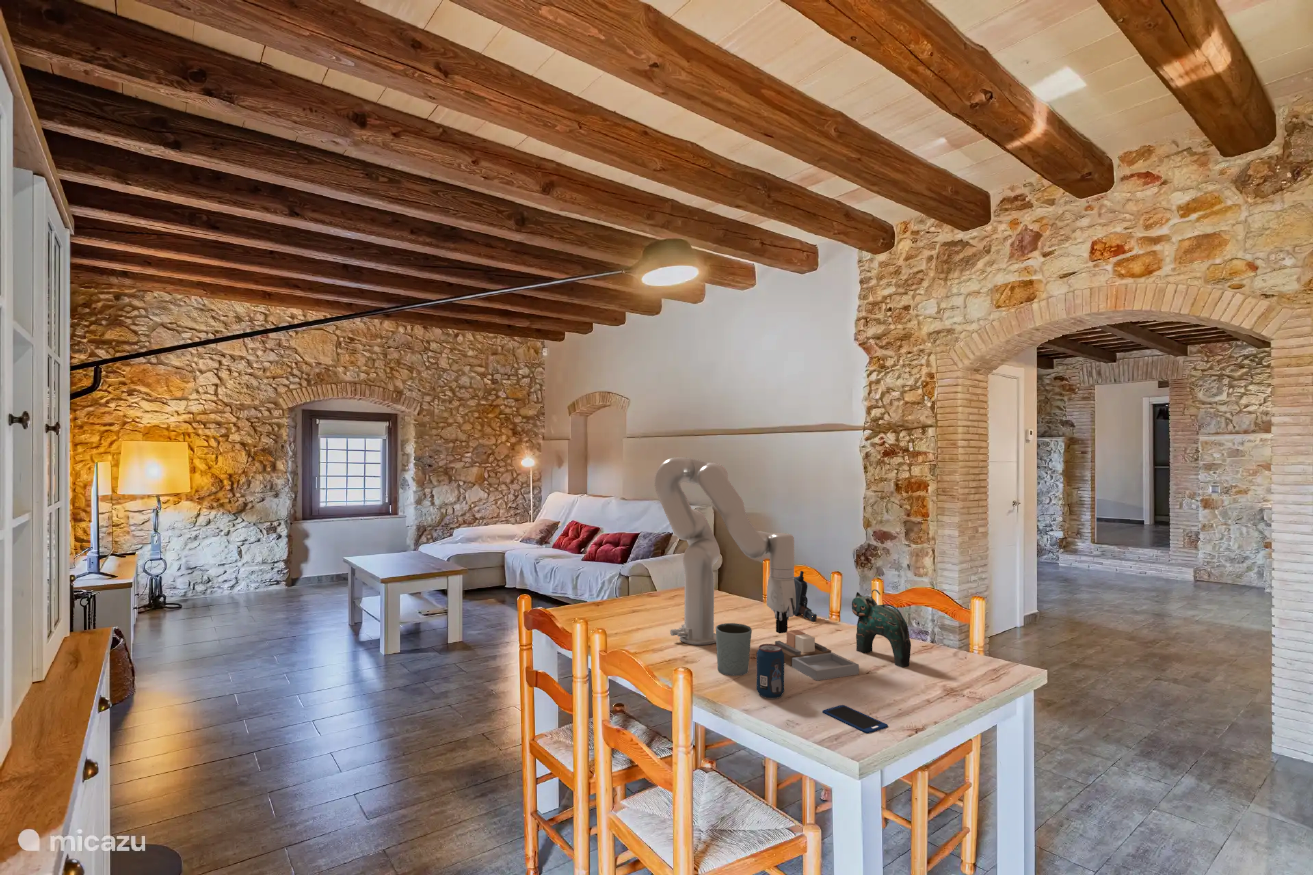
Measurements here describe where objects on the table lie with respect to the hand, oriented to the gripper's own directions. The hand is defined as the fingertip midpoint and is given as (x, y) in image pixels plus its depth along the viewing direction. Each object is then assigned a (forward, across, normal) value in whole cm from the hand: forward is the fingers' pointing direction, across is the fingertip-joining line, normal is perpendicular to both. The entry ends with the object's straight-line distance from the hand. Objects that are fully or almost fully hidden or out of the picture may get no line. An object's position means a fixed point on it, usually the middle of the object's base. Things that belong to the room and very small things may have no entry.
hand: (781, 632), depth 206 cm
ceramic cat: (+5, +19, +23) cm, 30 cm away
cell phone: (+6, +52, -14) cm, 54 cm away
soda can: (+5, +32, -24) cm, 40 cm away
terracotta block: (+2, +8, 0) cm, 8 cm away
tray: (+5, +22, 0) cm, 22 cm away
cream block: (+2, +12, 0) cm, 13 cm away
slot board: (+5, +10, 0) cm, 11 cm away
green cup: (+5, +12, -24) cm, 28 cm away
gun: (+5, -29, +28) cm, 41 cm away
